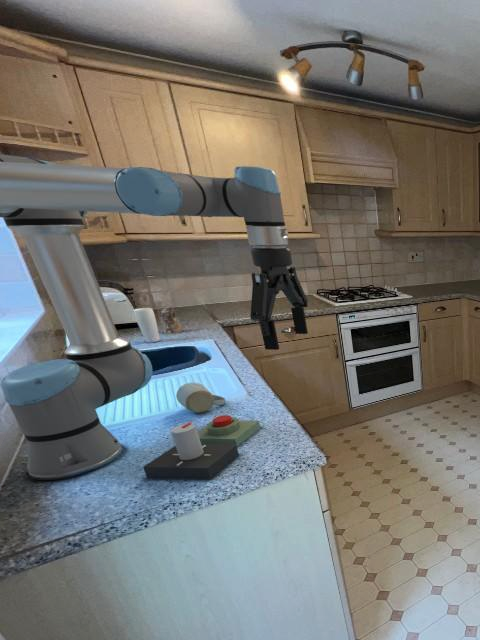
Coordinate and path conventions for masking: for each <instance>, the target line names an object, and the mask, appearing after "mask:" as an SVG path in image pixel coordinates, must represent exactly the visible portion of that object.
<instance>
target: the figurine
mask: <svg viewBox="0 0 480 640" xmlns="http://www.w3.org/2000/svg"><path fill="white" fill-rule="evenodd" d="M160 313H161V318H160V320H162V326H163V327H162V328H163V333H164V334H165V335H169V334H170V335H172V334H173V335H175V334H179V333H182V332H183V329H182V326H181V323H180V322H179V320H178V318H176V313H175V312H174V311H173V307H169V308H166V307H165V308H163V309H162V310H161V311H160Z"/></svg>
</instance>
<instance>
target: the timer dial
mask: <svg viewBox="0 0 480 640" xmlns="http://www.w3.org/2000/svg"><path fill="white" fill-rule="evenodd" d="M170 433H171V437H172V439H173V442H174V446H176V449H177V451H178V454H179V457H180V459H181V460H191V459H194V458H197V457H199V456H201V455H202V454H203V453H204V451H203V448H202V445H201V442H200V439H199V435H198V428H197V426H196V424H195V423H192V422H187V423H182V424H180V425H176V426H174V427H173V428H171V429H170Z"/></svg>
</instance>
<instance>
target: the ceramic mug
mask: <svg viewBox="0 0 480 640" xmlns="http://www.w3.org/2000/svg"><path fill="white" fill-rule="evenodd" d="M176 400H177V402H178V403H179V404H180V405H181V406H182V407H184V408H185V409H186V410H187V411H189V412H192V413H195V414H203V413H205V412H207V411H209V410H210V409H212V407H213V406H223V405H225V404H226V398H225V397H223V396H221V395H216V394H212V392H211V391H210V390H209V389H207V387H206V386H204V385H203V384H201V383H199V382H187V383H184V384H182V385H181V386H180V387H179V388H178V389H177V391H176Z"/></svg>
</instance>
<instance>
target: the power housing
mask: <svg viewBox="0 0 480 640" xmlns="http://www.w3.org/2000/svg"><path fill="white" fill-rule="evenodd" d="M231 418H232V424H230V425H227V426H224V427H214V424H213V420H212V421H210V422H209V423H208V424H206V425H205V426H204V427H202V428H201V429H199V430H197V432H198V435H199V439H200V442H201V444H222V445H237V447H239V446H240V445H241V444H242V443H244V442H245V441H246V440H247V439H249V438H250V437H251V436H252V435H254V434H255V433H256V432H257V431H259V430H260V429H261V424H260V421H259V420H240V419H239V418H238V417H236V416H231Z"/></svg>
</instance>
